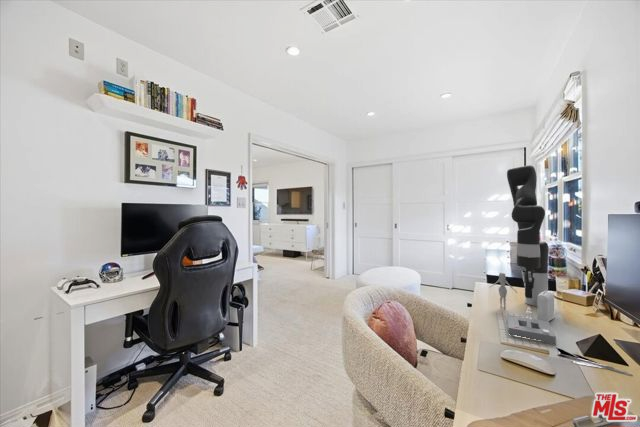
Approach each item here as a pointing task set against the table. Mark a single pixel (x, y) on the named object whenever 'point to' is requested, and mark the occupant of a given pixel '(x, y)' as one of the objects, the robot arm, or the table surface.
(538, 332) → the socket plate
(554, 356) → the table surface
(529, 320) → the chess piece
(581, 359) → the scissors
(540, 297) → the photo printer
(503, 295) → the human figurine
